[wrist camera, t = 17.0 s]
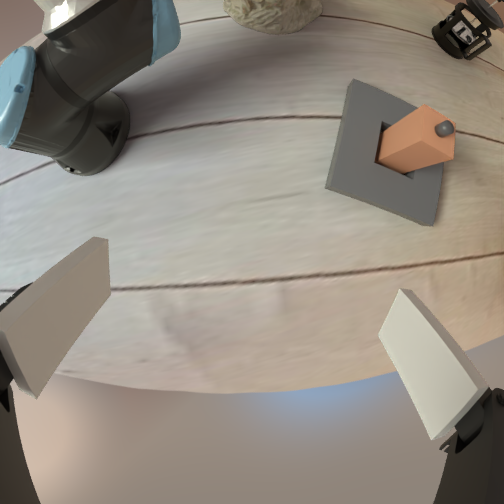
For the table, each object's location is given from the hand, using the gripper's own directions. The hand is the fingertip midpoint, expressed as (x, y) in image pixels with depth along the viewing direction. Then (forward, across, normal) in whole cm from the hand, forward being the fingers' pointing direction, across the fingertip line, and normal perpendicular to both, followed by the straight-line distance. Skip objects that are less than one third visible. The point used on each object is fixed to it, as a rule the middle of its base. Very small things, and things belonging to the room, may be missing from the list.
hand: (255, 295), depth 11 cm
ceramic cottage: (+39, -2, +35) cm, 52 cm away
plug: (+30, +20, +10) cm, 38 cm away
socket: (+30, +20, +10) cm, 38 cm away
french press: (+38, +36, +43) cm, 68 cm away
